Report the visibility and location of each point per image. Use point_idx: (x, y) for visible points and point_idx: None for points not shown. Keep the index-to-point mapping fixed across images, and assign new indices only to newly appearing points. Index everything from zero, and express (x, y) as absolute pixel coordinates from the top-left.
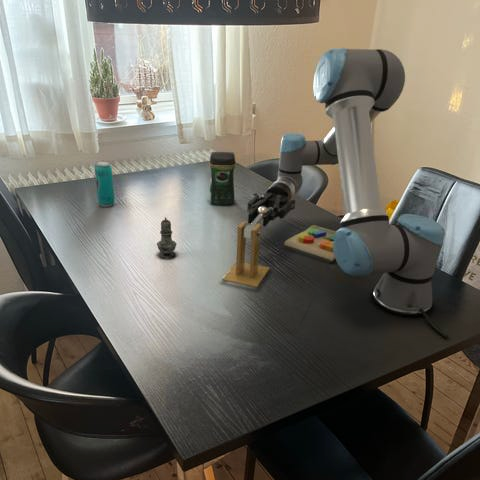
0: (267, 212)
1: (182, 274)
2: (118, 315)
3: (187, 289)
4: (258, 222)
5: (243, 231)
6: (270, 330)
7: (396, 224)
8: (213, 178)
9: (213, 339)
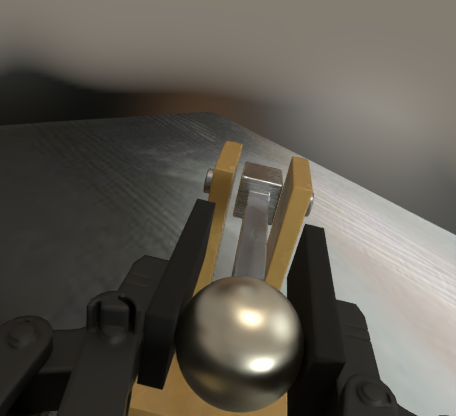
0: (196, 254)
1: (421, 354)
2: (404, 222)
3: (353, 288)
4: (238, 243)
5: (284, 196)
6: (134, 190)
7: None
8: None
9: None
